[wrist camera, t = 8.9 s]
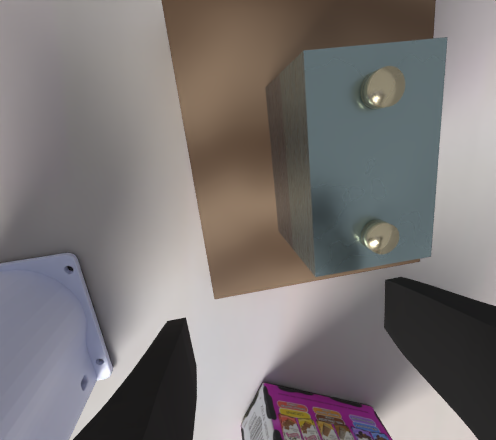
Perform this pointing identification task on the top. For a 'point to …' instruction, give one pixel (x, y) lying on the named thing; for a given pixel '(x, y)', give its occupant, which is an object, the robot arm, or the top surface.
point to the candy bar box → (308, 417)
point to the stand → (258, 115)
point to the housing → (358, 152)
